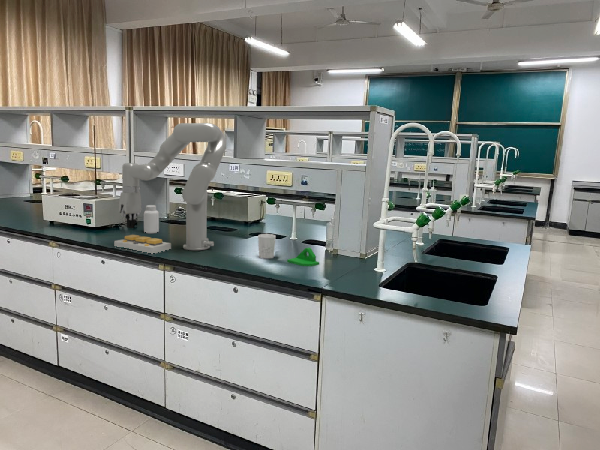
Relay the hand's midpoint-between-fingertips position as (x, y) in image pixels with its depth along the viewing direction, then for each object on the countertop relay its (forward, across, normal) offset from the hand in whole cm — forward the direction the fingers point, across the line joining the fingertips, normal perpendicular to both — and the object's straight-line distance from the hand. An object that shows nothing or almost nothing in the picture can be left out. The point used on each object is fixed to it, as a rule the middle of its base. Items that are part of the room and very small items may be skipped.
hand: (130, 227), depth 215 cm
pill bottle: (+9, -31, -17) cm, 37 cm away
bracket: (+7, -20, +83) cm, 86 cm away
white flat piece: (+9, 0, +8) cm, 12 cm away
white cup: (+7, -20, +64) cm, 68 cm away
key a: (+6, 0, +15) cm, 16 cm away
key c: (+7, 0, +1) cm, 7 cm away
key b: (+7, 0, +8) cm, 10 cm away
